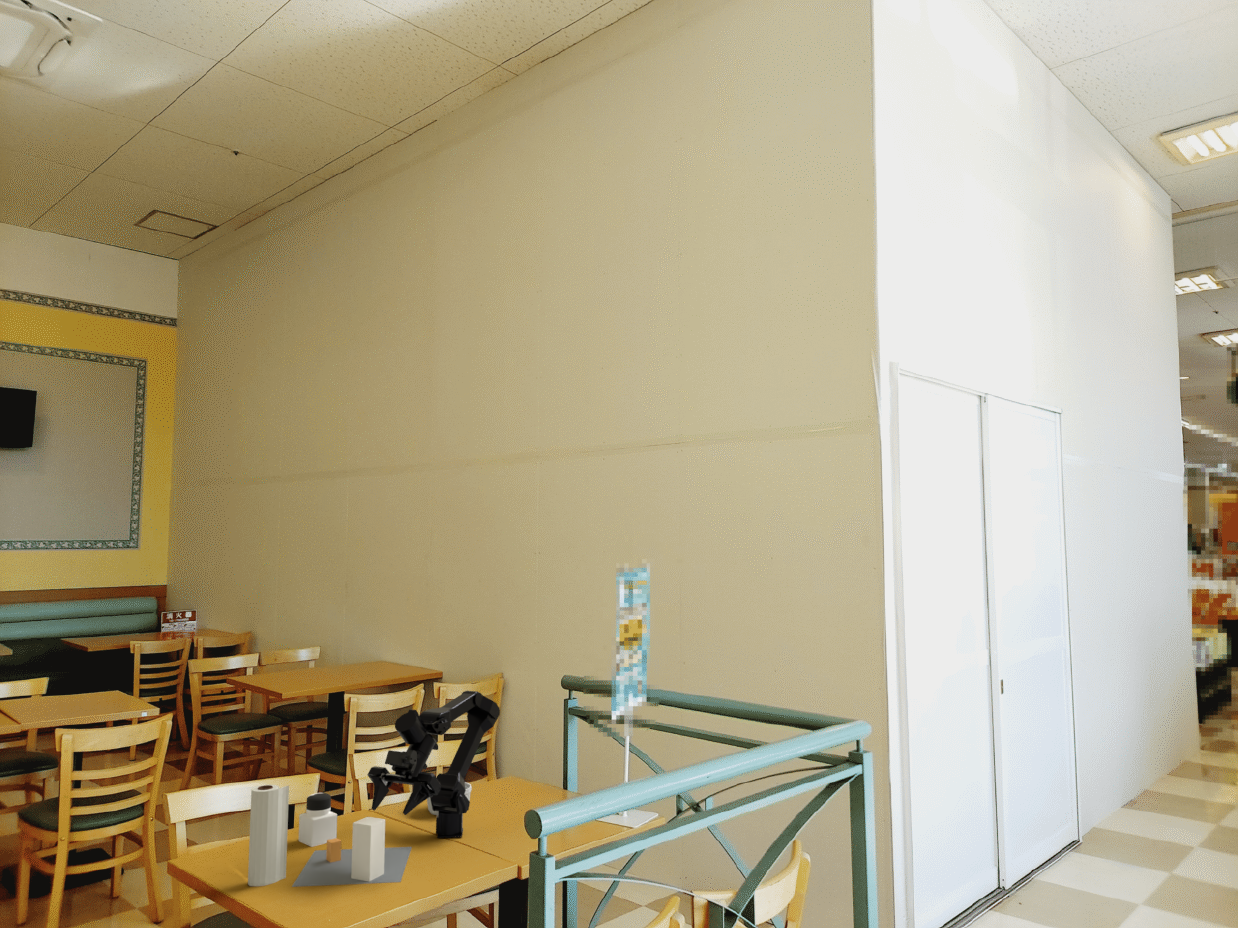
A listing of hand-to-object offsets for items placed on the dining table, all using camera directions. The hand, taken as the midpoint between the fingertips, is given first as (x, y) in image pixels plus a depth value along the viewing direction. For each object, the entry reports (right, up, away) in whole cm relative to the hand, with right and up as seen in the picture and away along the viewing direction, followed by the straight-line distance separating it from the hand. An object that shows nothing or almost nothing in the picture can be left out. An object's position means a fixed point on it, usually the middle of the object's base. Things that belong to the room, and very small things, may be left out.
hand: (388, 811), depth 214 cm
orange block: (-14, -13, +3) cm, 19 cm away
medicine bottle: (-23, -15, +17) cm, 32 cm away
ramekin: (+6, -18, +45) cm, 49 cm away
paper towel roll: (-26, -12, -11) cm, 30 cm away
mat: (-8, -13, -1) cm, 15 cm away
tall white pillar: (-3, -12, -8) cm, 14 cm away
